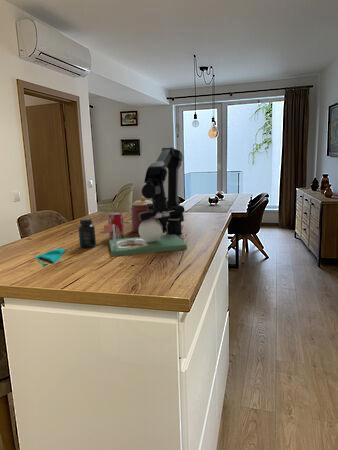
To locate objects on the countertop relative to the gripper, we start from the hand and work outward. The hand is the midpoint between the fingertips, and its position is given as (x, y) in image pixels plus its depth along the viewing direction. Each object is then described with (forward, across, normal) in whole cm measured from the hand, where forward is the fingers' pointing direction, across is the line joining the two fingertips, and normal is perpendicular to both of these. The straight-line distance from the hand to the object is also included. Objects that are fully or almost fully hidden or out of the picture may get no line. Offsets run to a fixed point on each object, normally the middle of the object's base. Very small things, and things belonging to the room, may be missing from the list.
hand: (164, 232), depth 141 cm
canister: (+2, +3, -35) cm, 35 cm away
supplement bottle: (+1, +32, -12) cm, 34 cm away
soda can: (+2, +19, -22) cm, 29 cm away
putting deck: (+4, +8, -2) cm, 10 cm away
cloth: (+1, +46, -1) cm, 46 cm away
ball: (-2, +6, -1) cm, 6 cm away
